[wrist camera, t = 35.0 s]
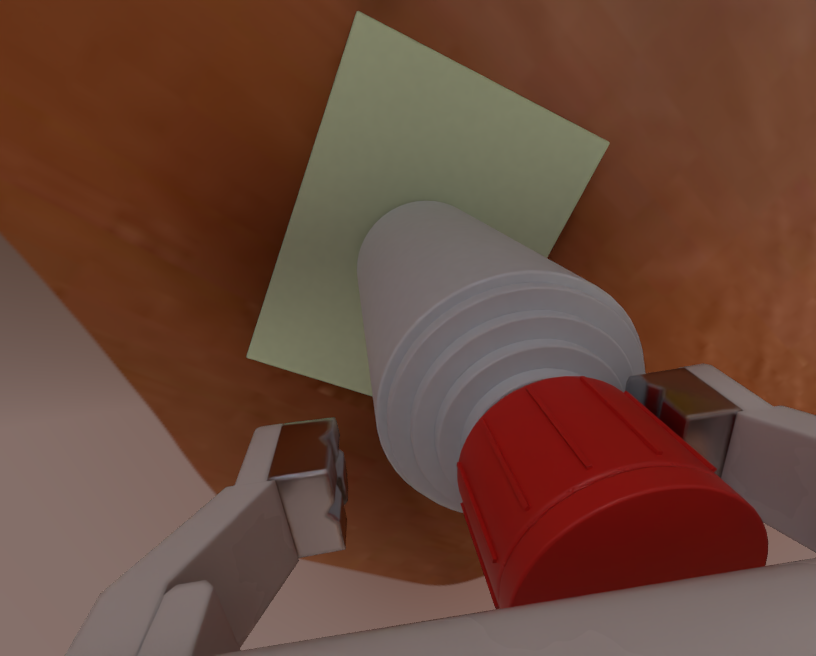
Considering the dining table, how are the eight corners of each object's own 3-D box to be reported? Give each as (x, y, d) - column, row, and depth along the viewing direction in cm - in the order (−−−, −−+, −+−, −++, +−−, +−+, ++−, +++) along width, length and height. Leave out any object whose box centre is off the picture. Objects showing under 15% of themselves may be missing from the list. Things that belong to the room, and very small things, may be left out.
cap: (512, 347, 7) (602, 454, 5) (677, 405, 8) (824, 519, 6) (424, 511, 9) (461, 669, 6) (579, 545, 10) (667, 694, 7)
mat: (453, 413, 26) (457, 423, 25) (250, 349, 23) (245, 358, 22) (600, 142, 21) (611, 142, 20) (357, 15, 18) (356, 9, 17)
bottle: (455, 346, 23) (656, 702, 8) (337, 307, 21) (332, 667, 7) (511, 231, 21) (901, 431, 6) (386, 177, 19) (532, 285, 5)
